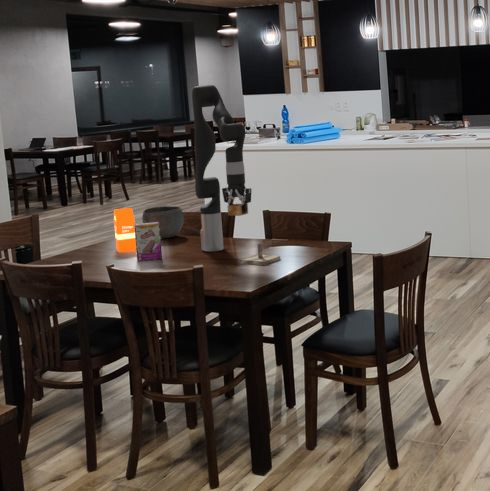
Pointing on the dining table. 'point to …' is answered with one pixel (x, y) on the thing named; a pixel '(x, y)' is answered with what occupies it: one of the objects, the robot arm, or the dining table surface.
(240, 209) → the small wooden box
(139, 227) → the candy bar box
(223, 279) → the dining table surface
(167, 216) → the bowl
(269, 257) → the wooden peg stand
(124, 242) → the orange juice
